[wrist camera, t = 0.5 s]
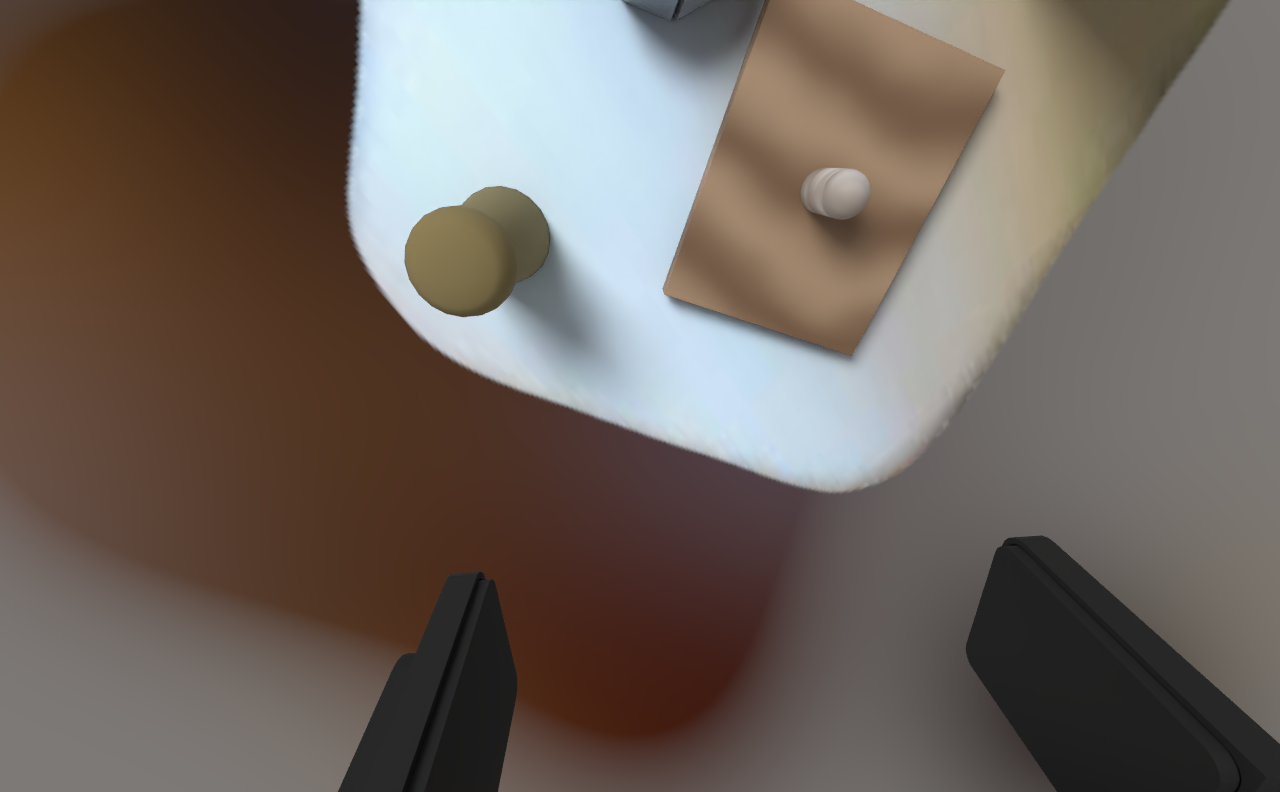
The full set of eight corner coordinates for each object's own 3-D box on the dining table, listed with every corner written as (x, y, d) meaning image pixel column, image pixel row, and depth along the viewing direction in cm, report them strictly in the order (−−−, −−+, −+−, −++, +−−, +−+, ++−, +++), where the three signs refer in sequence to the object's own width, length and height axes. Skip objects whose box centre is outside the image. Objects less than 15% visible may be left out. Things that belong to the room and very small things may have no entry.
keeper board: (773, -24, 28) (813, -70, 22) (988, 74, 30) (1073, 54, 24) (662, 289, 35) (670, 314, 29) (843, 348, 37) (883, 383, 31)
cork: (568, 250, 34) (546, 290, 24) (496, 299, 35) (446, 356, 25) (510, 165, 31) (459, 169, 21) (435, 221, 33) (354, 249, 23)
